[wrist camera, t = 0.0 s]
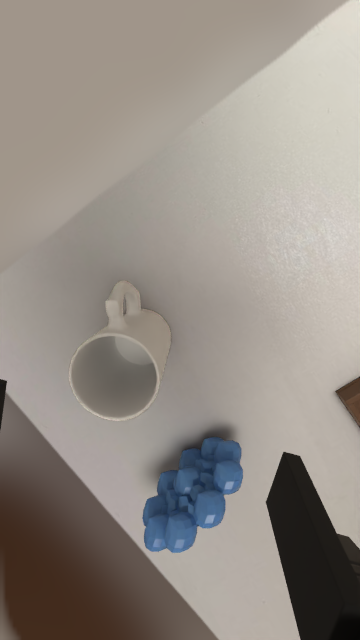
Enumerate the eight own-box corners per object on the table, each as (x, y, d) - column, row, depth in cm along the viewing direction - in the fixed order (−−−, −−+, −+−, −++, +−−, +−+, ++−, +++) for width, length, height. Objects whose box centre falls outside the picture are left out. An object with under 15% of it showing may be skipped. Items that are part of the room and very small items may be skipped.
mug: (175, 366, 36) (161, 421, 24) (115, 367, 37) (73, 421, 25) (171, 273, 34) (154, 285, 22) (107, 276, 35) (58, 288, 23)
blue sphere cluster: (175, 503, 40) (164, 608, 28) (142, 461, 39) (115, 552, 27) (257, 455, 38) (282, 548, 26) (224, 410, 37) (234, 484, 25)
